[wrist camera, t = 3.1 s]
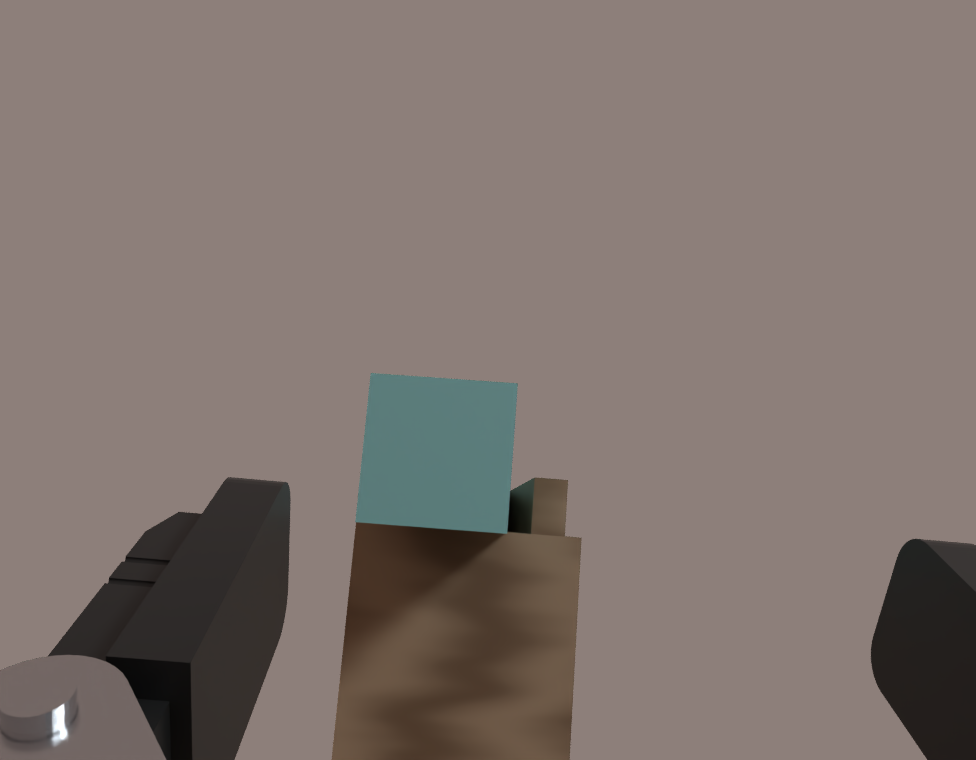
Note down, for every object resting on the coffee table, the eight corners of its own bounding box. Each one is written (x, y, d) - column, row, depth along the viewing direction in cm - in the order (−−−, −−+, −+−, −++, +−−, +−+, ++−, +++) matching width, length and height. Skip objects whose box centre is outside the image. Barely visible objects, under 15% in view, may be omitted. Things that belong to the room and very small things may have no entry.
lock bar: (506, 531, 44) (511, 466, 45) (507, 533, 19) (517, 383, 19) (442, 526, 44) (448, 462, 45) (355, 522, 19) (370, 372, 19)
